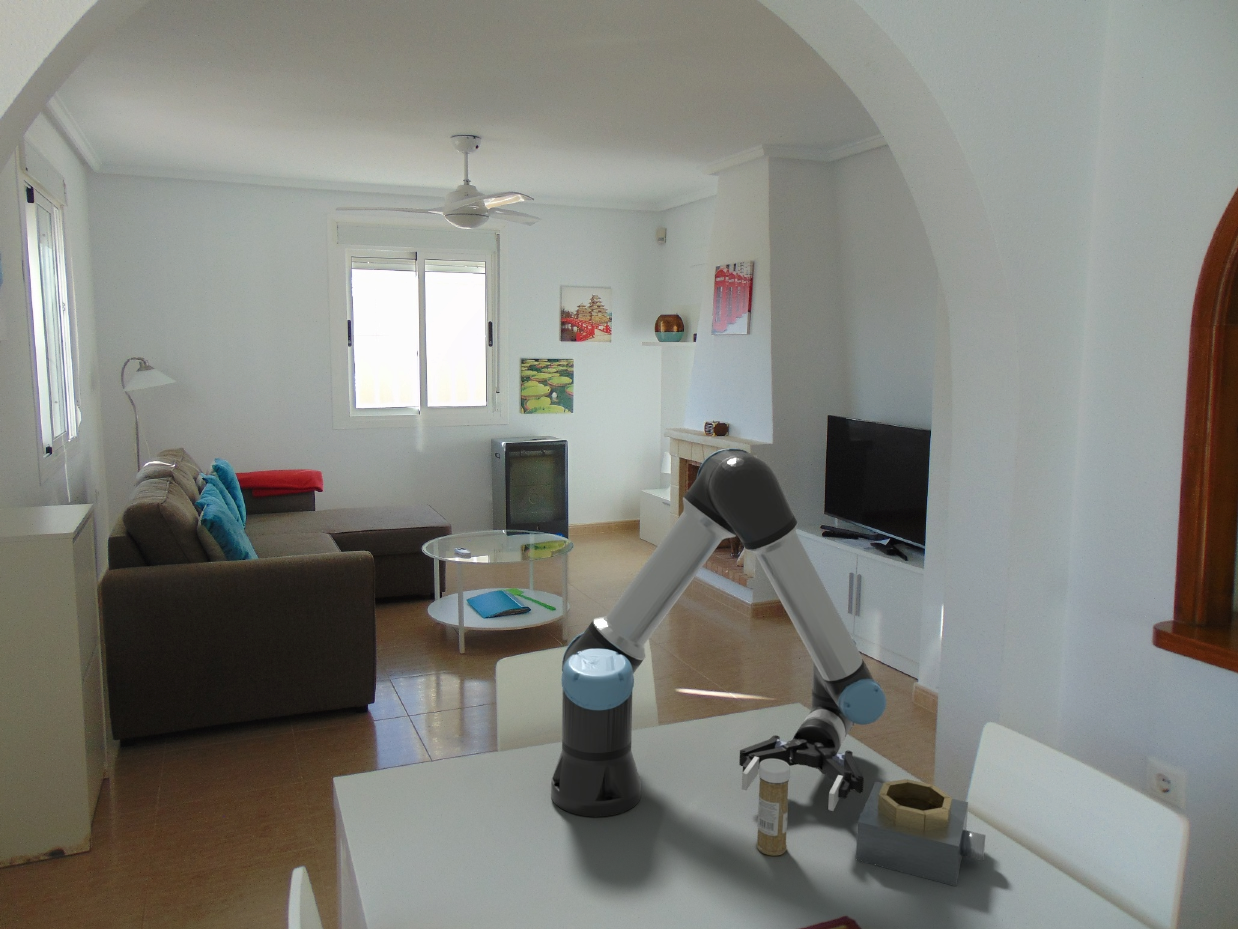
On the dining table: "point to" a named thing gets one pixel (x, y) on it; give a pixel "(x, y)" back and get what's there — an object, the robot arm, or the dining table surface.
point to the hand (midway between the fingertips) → (786, 791)
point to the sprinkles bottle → (773, 806)
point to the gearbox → (916, 831)
